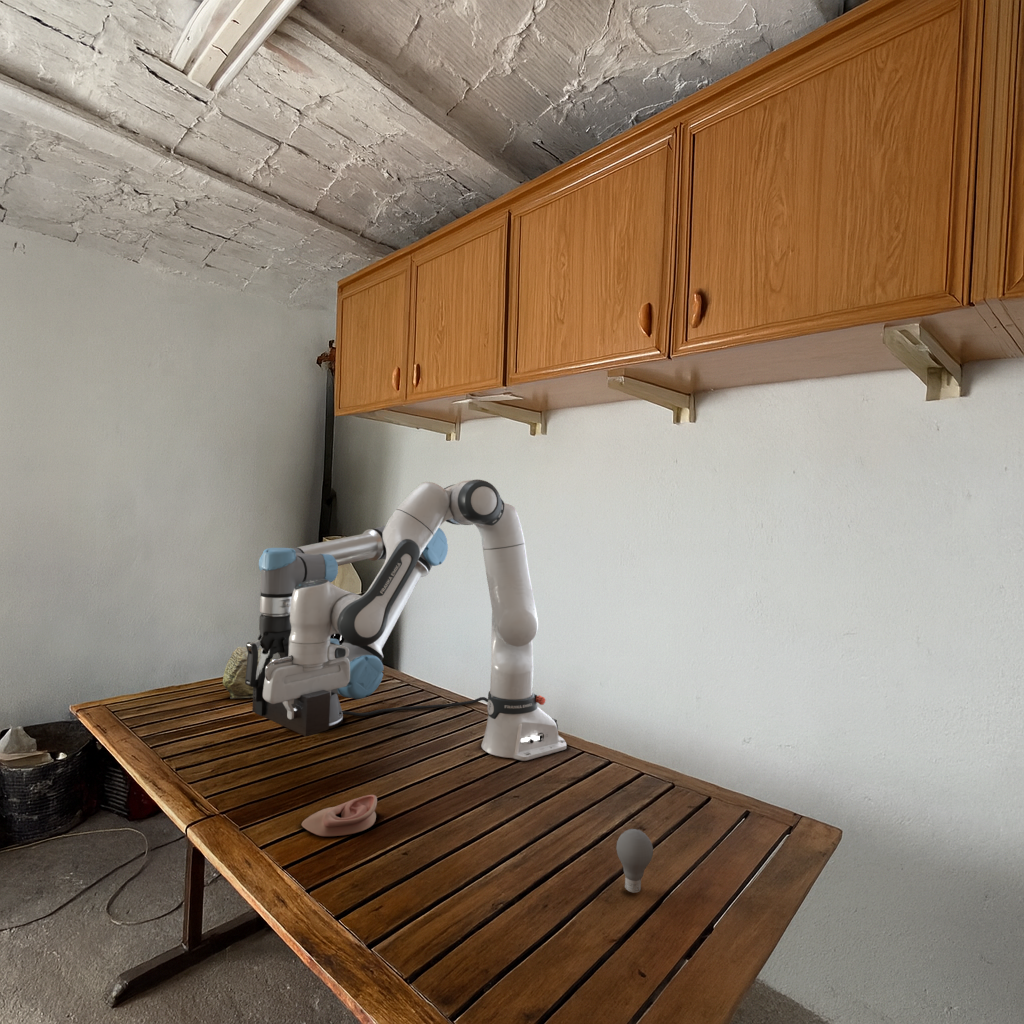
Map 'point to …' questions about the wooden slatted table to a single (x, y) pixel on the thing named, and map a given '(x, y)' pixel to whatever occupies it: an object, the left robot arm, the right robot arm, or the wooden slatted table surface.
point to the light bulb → (634, 857)
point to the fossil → (238, 674)
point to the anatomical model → (343, 817)
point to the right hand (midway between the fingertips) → (307, 714)
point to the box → (302, 713)
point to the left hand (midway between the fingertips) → (273, 710)
